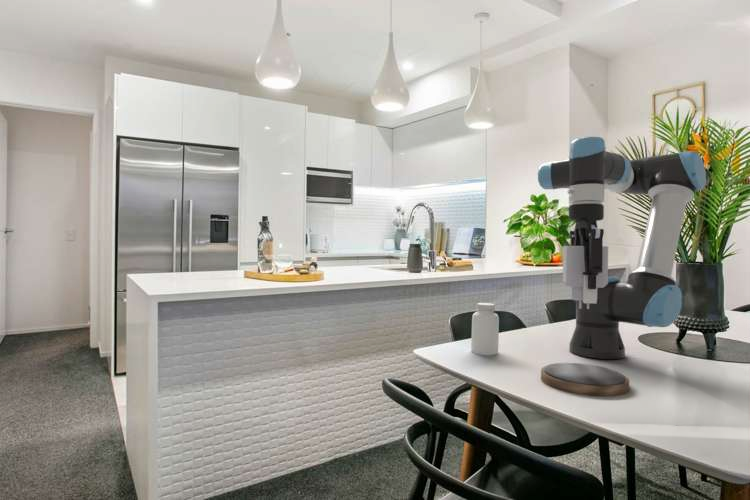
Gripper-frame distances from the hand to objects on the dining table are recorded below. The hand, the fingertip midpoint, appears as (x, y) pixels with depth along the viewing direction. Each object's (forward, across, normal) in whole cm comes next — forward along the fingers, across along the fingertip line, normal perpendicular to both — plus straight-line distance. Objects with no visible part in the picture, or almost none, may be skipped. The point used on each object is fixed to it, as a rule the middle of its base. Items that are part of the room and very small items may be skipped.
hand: (584, 301), depth 106 cm
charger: (+2, 0, 0) cm, 2 cm away
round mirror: (+19, 0, 0) cm, 19 cm away
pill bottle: (+20, -28, -18) cm, 39 cm away
